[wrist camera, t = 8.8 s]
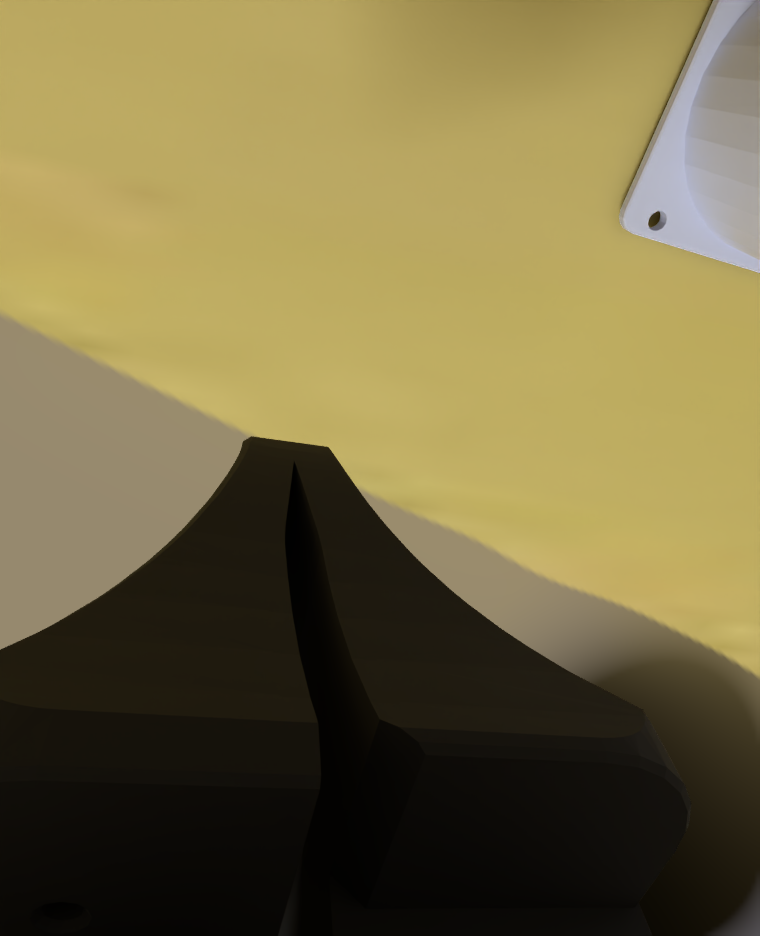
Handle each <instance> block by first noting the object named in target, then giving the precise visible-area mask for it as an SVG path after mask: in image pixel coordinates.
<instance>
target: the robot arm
mask: <svg viewBox="0 0 760 936" xmlns="http://www.w3.org/2000/svg"><path fill="white" fill-rule="evenodd" d="M657 211H660V215H661V216H660V221H659V222H658V223H657V225H655V226H653V227H649V226H648V221H649V218H650V216H651V215H652V214H653V213H655V212H657ZM619 220H620V224H621V225H622V227H623V228H624V229H626V230H627V231H629V232H631V233H632V234H635V235H639V236H642V237H645V238H648V239H652V240H655V241H658V242H661V243H665V244H668V245H671V246H674V247H677V248H681V249H684V250H687V251H690V252H694V253H697V254H700V255H703V256H707V257H710V258H713V259H716V260H720V261H723V262H726V263H729V264H732V265H736V266H739V267H742V268H745V269H749V270H752V271H755V272H758V273H760V0H713V2H712V4H711V6H710V9H709V11H708V13H707V15H706V18H705V20H704V22H703V24H702V27H701V29H700V31H699V33H698V36H697V38H696V40H695V42H694V45H693V47H692V49H691V52H690V54H689V56H688V58H687V61H686V63H685V65H684V67H683V70H682V72H681V74H680V76H679V79H678V81H677V83H676V85H675V88H674V90H673V92H672V94H671V97H670V99H669V101H668V103H667V106H666V108H665V110H664V112H663V115H662V117H661V119H660V121H659V124H658V126H657V128H656V130H655V133H654V135H653V137H652V139H651V142H650V144H649V146H648V148H647V151H646V153H645V155H644V157H643V160H642V162H641V164H640V166H639V169H638V171H637V173H636V176H635V178H634V180H633V182H632V185H631V187H630V189H629V191H628V194H627V196H626V198H625V200H624V203H623V205H622V207H621V210H620V214H619ZM690 810H691V801H690V798H689V796H688V793H687V790H686V787H685V785H684V783H683V781H682V779H681V777H680V775H679V773H678V771H677V770H676V768H675V766H674V764H673V762H672V760H671V759H670V757H669V755H668V753H667V751H666V750H665V747H664V746H663V744H662V742H661V740H660V738H659V737H658V735H657V733H656V731H655V729H654V727H653V726H652V724H651V722H650V720H649V719H648V717H647V716H646V714H645V712H644V711H643V709H641V708H639V707H637V706H635V705H633V704H631V703H629V702H627V701H625V700H623V699H621V698H619V697H617V696H615V695H613V694H612V693H610V692H608V691H605V690H604V689H602V688H600V687H598V686H596V685H594V684H592V683H590V682H588V681H586V680H584V679H582V678H580V677H579V676H577V675H575V674H573V673H571V672H569V671H567V670H566V669H564V668H562V667H561V666H559V665H557V664H556V663H554V662H552V661H550V660H549V659H547V658H546V657H544V656H542V655H541V654H539V653H538V652H536V651H534V650H533V649H531V648H529V647H528V646H526V645H525V644H523V643H522V642H520V641H519V640H517V639H516V638H514V637H513V636H511V635H510V634H508V633H506V632H505V631H504V630H502V629H501V628H499V627H498V626H497V625H495V624H494V623H493V622H491V621H490V620H489V619H487V618H486V617H485V616H483V615H482V614H481V613H479V612H478V611H477V610H475V609H474V608H472V607H471V606H470V605H468V604H467V603H466V602H465V601H464V600H462V599H461V598H460V597H459V596H457V595H456V594H455V593H454V592H453V591H451V590H450V589H449V588H448V587H447V586H446V585H445V584H444V583H442V582H441V581H440V580H439V579H438V578H437V577H436V576H435V575H434V574H432V573H431V572H430V571H429V570H428V569H427V568H426V567H425V566H424V565H423V564H422V563H421V562H420V561H418V559H416V557H415V556H413V554H412V553H411V552H410V551H409V550H408V549H407V548H406V547H405V546H404V545H403V544H402V543H401V541H400V540H399V539H398V538H397V537H396V536H395V535H394V534H393V533H392V532H391V530H390V529H389V528H388V527H387V526H386V525H385V524H384V522H383V521H382V520H381V519H380V517H378V515H377V514H376V513H375V511H374V510H373V509H372V507H371V506H370V505H369V504H368V503H367V501H366V500H365V498H364V497H363V496H362V494H361V493H360V491H359V490H358V489H357V487H356V486H355V484H354V483H353V482H352V480H351V479H350V477H349V476H348V474H347V473H346V472H345V470H344V469H343V467H342V466H341V464H340V463H339V461H338V460H337V458H336V457H335V456H334V454H333V453H332V451H331V450H330V449H329V447H324V446H317V445H310V444H303V443H295V442H288V441H281V440H274V439H266V438H259V437H252V436H251V437H250V438H248V439H246V440H245V441H243V444H242V448H241V451H240V453H239V456H238V457H237V459H236V461H235V463H234V464H233V466H232V468H231V469H230V471H229V473H228V474H227V476H226V477H225V478H224V480H223V481H222V483H221V484H220V485H219V487H218V488H217V489H216V491H215V492H214V494H213V495H212V496H211V498H210V499H209V500H208V501H207V503H206V504H205V505H204V506H203V507H202V508H201V509H200V510H199V512H198V513H197V514H196V515H195V516H194V517H193V518H192V520H190V522H189V523H188V524H187V525H186V526H185V527H184V528H183V529H182V531H180V532H179V533H178V534H177V535H176V536H175V537H174V538H173V539H172V540H171V541H170V542H169V543H168V544H167V545H166V546H165V547H163V548H162V549H161V550H160V551H159V552H158V553H157V554H156V555H154V556H153V557H152V558H151V559H150V560H149V561H147V562H146V563H145V564H144V565H142V566H141V567H140V568H139V569H137V570H136V571H135V572H133V573H132V574H131V575H129V576H128V577H127V578H126V579H124V580H123V581H122V582H120V583H119V584H117V585H116V586H115V587H113V588H112V589H110V590H109V591H107V592H106V593H105V594H103V595H102V596H100V597H99V598H97V599H95V600H94V601H92V602H90V603H89V604H87V605H85V606H84V607H82V608H80V609H79V610H77V611H75V612H74V613H72V614H70V615H69V616H67V617H65V618H64V619H62V620H60V621H59V622H57V623H55V624H53V625H52V626H50V627H48V628H46V629H44V630H42V631H40V632H38V633H36V634H34V635H32V636H29V637H27V638H25V639H23V640H21V641H18V642H16V643H14V644H12V645H10V646H7V647H5V648H3V649H1V650H0V936H652V934H651V931H650V929H649V926H648V924H647V922H646V919H645V917H644V914H643V912H642V910H641V907H640V905H639V901H640V900H641V898H642V897H643V896H644V894H645V893H646V891H647V890H648V889H649V887H650V886H651V884H652V883H653V882H654V880H655V879H656V878H657V876H658V875H659V873H660V872H661V871H662V869H663V868H664V867H665V865H666V864H667V862H668V861H669V860H670V858H671V857H672V856H673V854H674V853H675V851H676V849H677V847H678V845H679V843H680V841H681V840H682V838H683V836H684V834H685V832H686V830H687V827H688V825H689V818H690Z"/></svg>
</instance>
